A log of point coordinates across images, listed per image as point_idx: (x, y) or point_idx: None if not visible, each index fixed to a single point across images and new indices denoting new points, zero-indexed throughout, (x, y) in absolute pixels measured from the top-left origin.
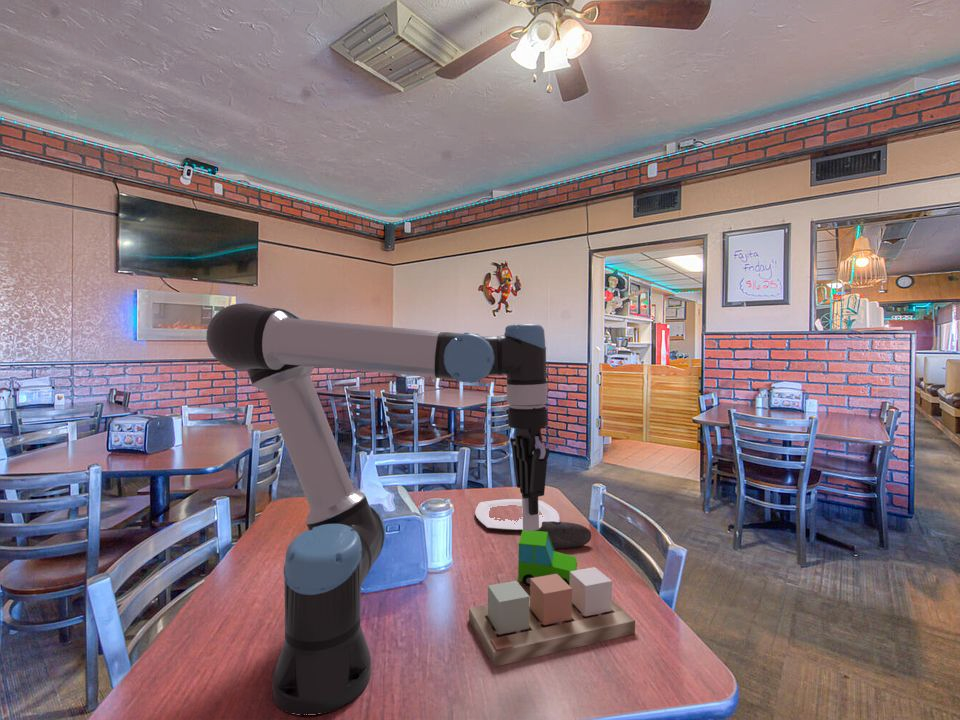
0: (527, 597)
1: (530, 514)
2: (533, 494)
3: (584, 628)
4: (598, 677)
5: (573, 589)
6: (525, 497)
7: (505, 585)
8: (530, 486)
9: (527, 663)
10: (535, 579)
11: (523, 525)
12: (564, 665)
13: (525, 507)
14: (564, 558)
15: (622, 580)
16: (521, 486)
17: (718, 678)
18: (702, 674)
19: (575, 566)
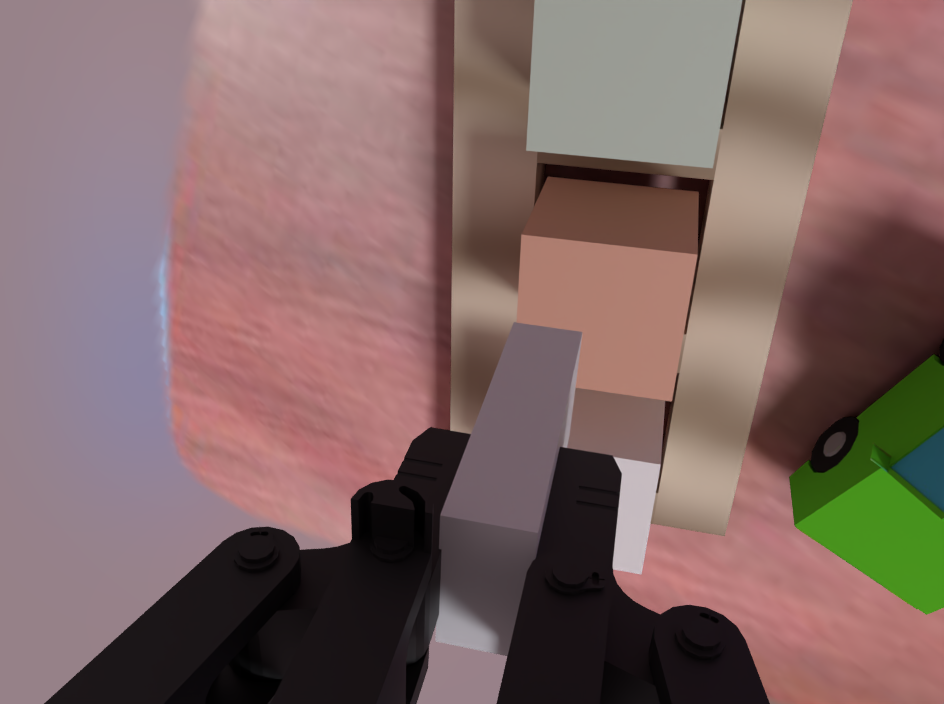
0: (528, 137)
1: (439, 430)
2: (213, 562)
3: (470, 313)
4: (309, 216)
5: (627, 415)
6: (362, 498)
7: (693, 77)
8: (217, 628)
9: (446, 10)
10: (671, 273)
11: (564, 347)
12: (392, 144)
13: (467, 444)
14: (935, 564)
15: (756, 648)
16: (552, 623)
17: (234, 492)
18: (254, 474)
19: (843, 557)
